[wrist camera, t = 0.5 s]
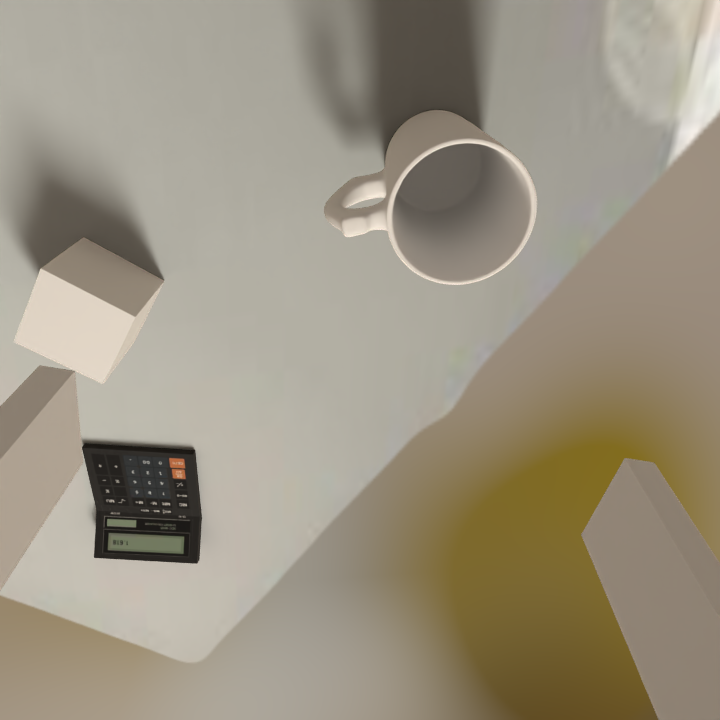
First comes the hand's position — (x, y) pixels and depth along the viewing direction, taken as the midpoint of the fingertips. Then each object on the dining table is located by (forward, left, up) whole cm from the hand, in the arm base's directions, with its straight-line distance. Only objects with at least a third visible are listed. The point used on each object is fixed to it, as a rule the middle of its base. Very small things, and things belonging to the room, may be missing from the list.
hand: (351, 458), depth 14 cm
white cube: (+11, -16, -27) cm, 33 cm away
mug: (-2, +3, -27) cm, 27 cm away
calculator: (+31, -13, -27) cm, 43 cm away
